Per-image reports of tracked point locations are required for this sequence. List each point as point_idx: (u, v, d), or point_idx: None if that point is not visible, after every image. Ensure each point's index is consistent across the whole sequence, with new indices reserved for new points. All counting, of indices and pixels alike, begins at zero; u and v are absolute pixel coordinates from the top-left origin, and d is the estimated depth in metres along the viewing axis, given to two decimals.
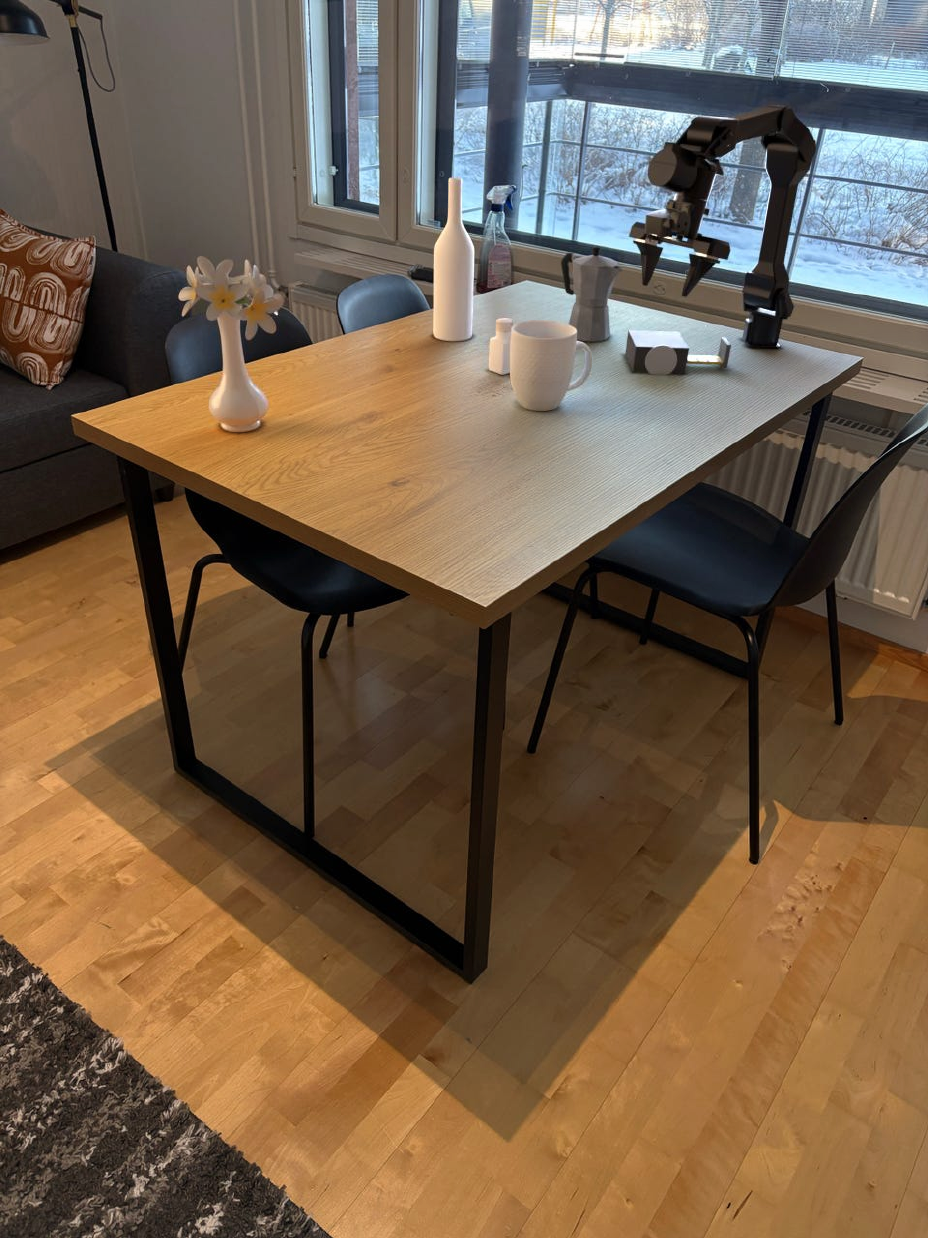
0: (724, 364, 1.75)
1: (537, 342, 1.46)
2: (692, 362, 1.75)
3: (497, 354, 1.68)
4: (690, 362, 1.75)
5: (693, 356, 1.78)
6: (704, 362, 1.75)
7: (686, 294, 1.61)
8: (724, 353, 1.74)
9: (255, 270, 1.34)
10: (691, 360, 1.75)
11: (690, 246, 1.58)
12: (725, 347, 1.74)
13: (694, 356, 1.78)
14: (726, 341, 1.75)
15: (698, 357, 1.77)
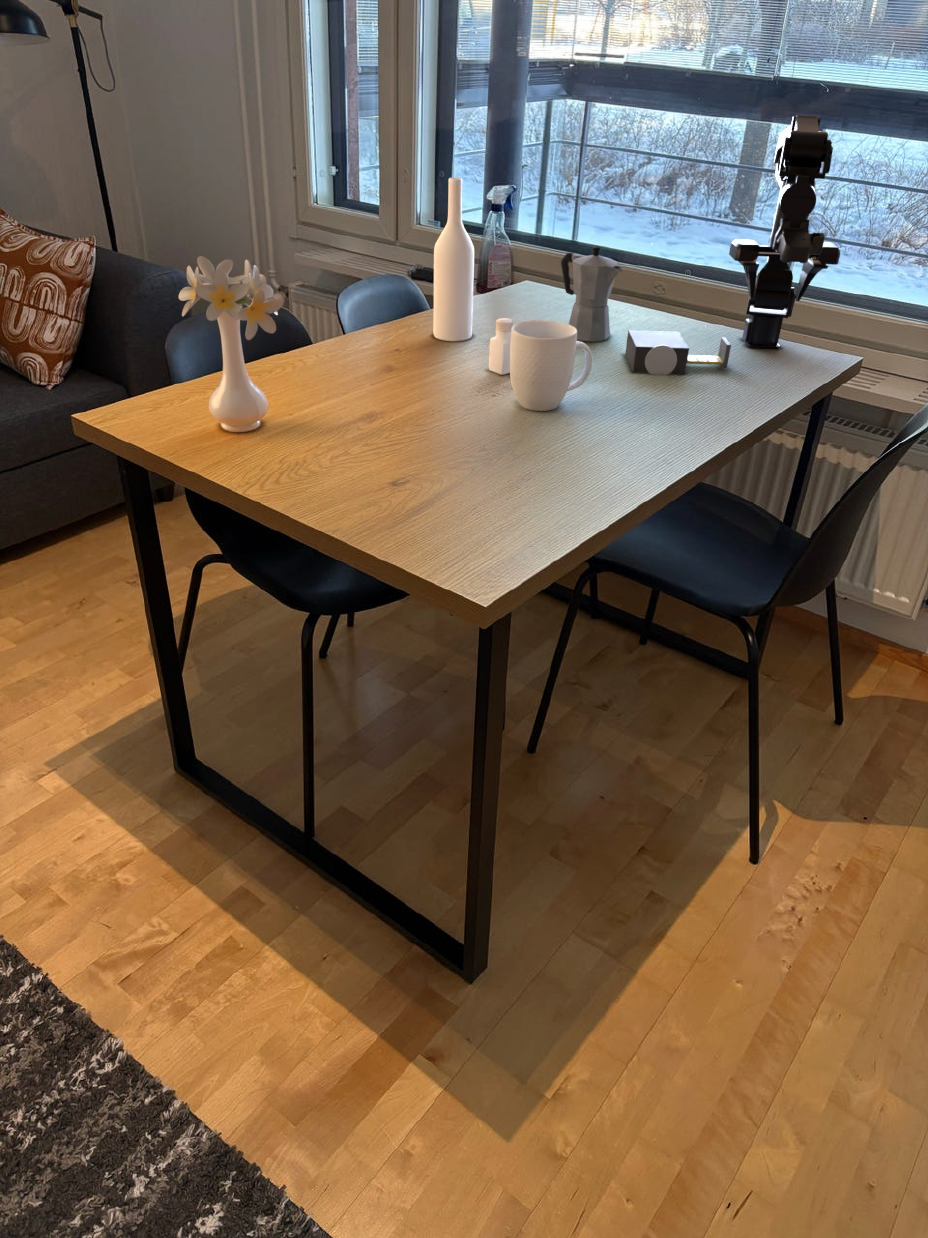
0: (724, 364, 1.75)
1: (537, 342, 1.46)
2: (692, 362, 1.75)
3: (497, 354, 1.68)
4: (690, 362, 1.75)
5: (693, 356, 1.78)
6: (704, 362, 1.75)
7: None
8: (724, 353, 1.74)
9: (255, 270, 1.34)
10: (691, 360, 1.75)
11: None
12: (725, 347, 1.74)
13: (694, 356, 1.78)
14: (726, 341, 1.75)
15: (698, 357, 1.77)
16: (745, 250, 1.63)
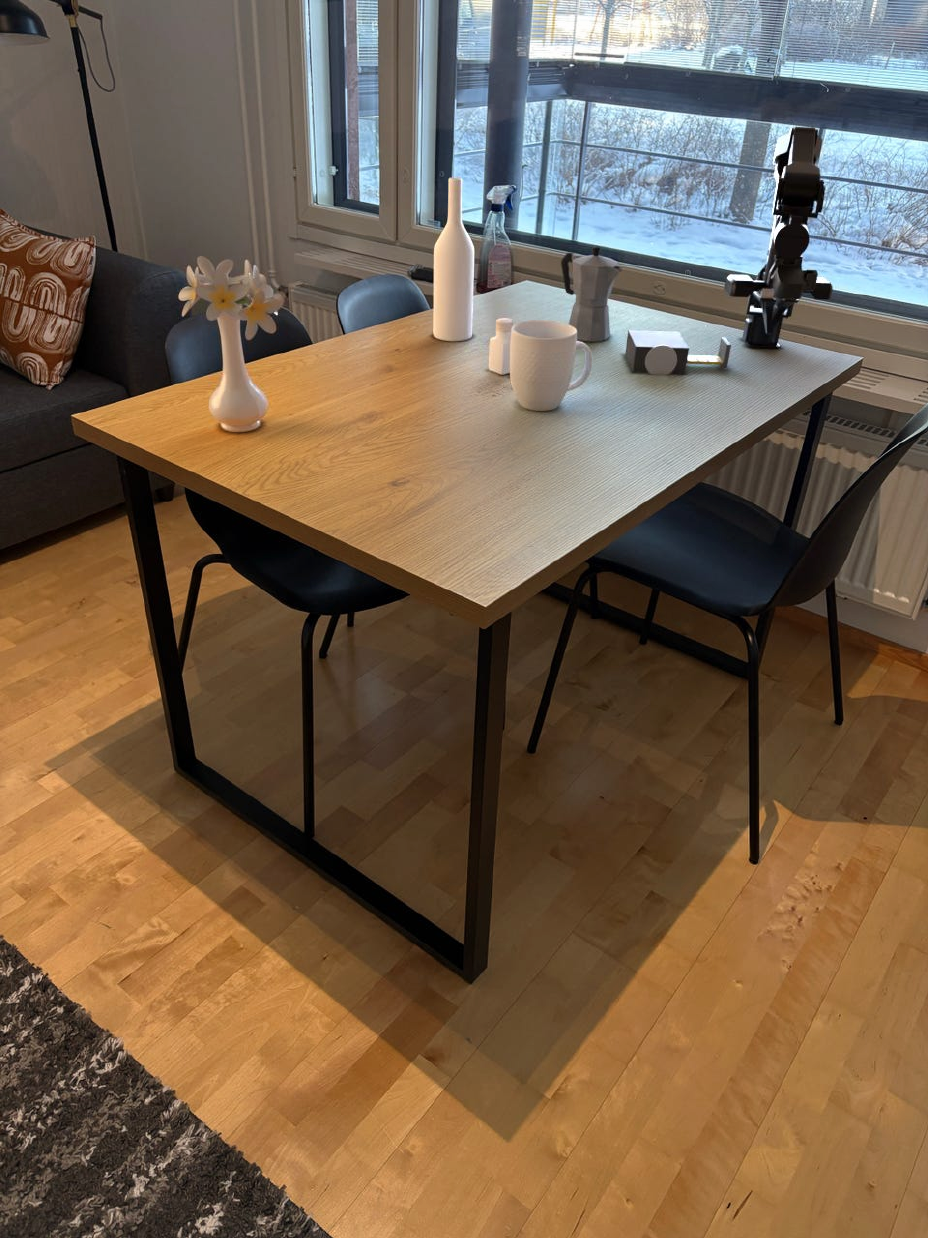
0: (724, 364, 1.75)
1: (537, 342, 1.46)
2: (692, 362, 1.75)
3: (497, 354, 1.68)
4: (690, 362, 1.75)
5: (693, 356, 1.78)
6: (704, 362, 1.75)
7: None
8: (724, 353, 1.74)
9: (255, 270, 1.34)
10: (691, 360, 1.75)
11: None
12: (725, 347, 1.74)
13: (694, 356, 1.78)
14: (726, 341, 1.75)
15: (698, 357, 1.77)
16: (740, 286, 1.66)
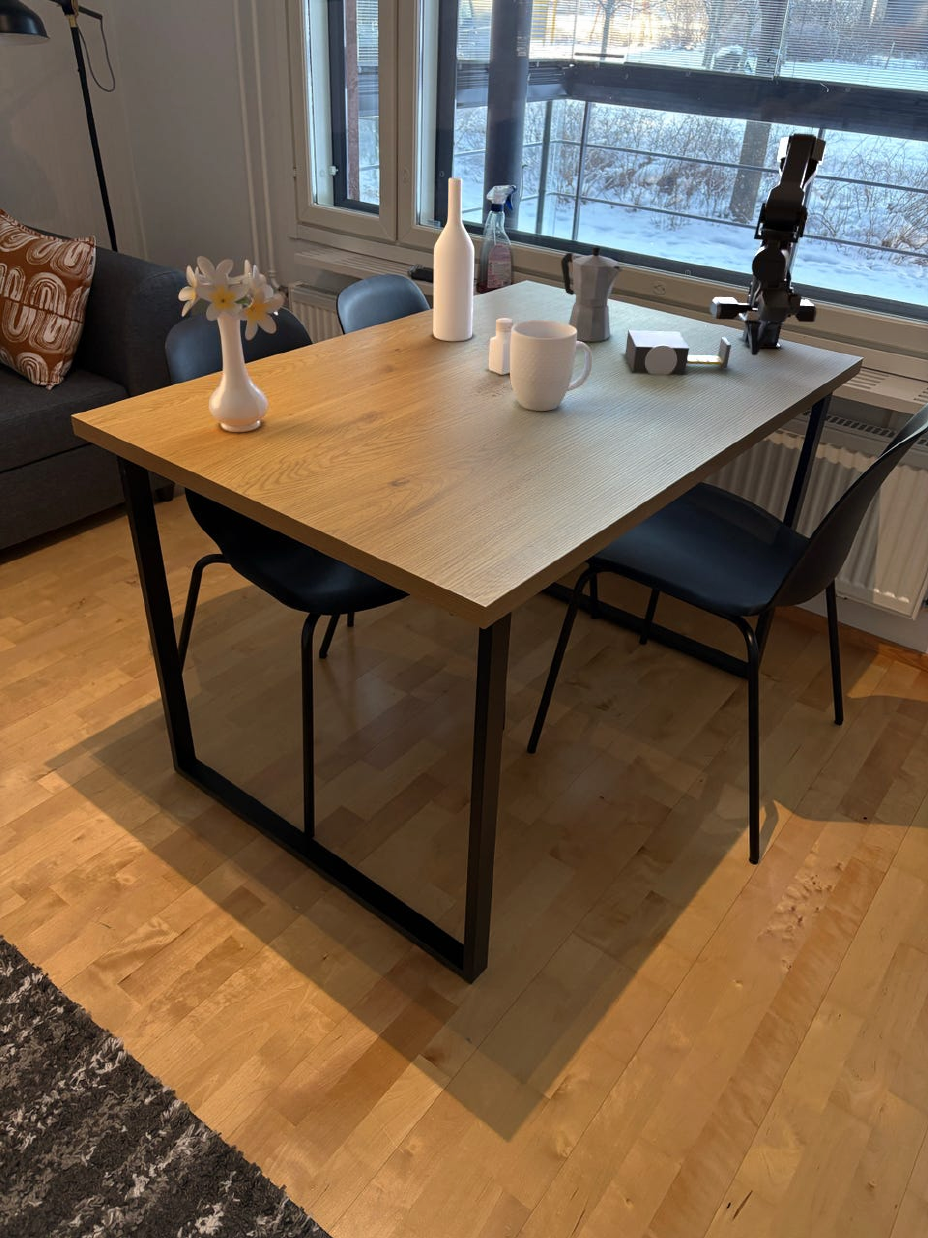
0: (724, 364, 1.75)
1: (537, 342, 1.46)
2: (692, 362, 1.75)
3: (497, 354, 1.68)
4: (690, 362, 1.75)
5: (693, 356, 1.78)
6: (704, 362, 1.75)
7: None
8: (724, 353, 1.74)
9: (255, 270, 1.34)
10: (691, 360, 1.75)
11: None
12: (725, 347, 1.74)
13: (694, 356, 1.78)
14: (726, 341, 1.75)
15: (698, 357, 1.77)
16: (725, 309, 1.69)
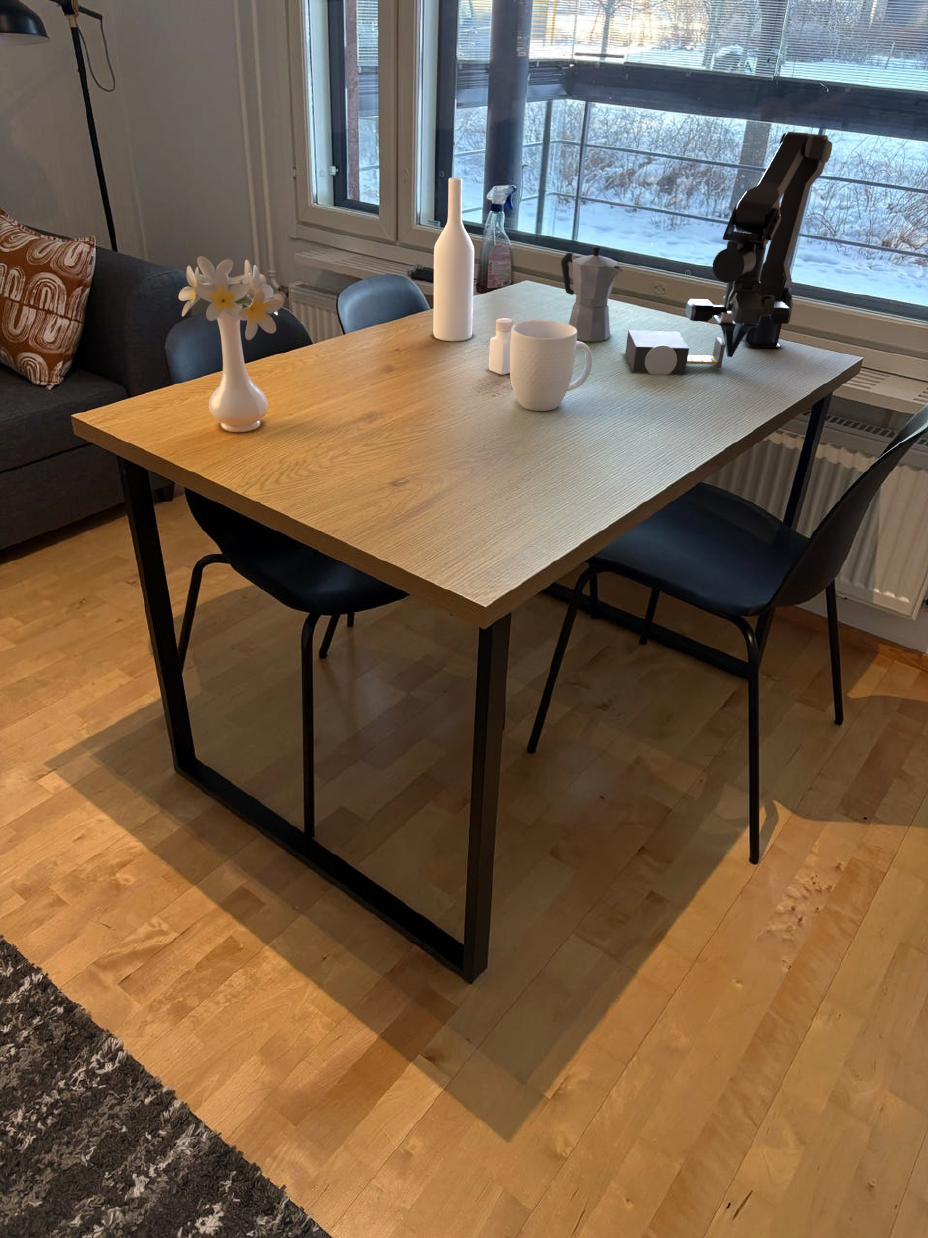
0: (718, 364, 1.75)
1: (537, 342, 1.46)
2: None
3: (497, 354, 1.68)
4: None
5: None
6: (698, 362, 1.75)
7: None
8: (718, 353, 1.74)
9: (255, 270, 1.34)
10: None
11: None
12: (719, 347, 1.74)
13: (688, 356, 1.78)
14: (720, 341, 1.75)
15: (692, 357, 1.77)
16: (700, 311, 1.69)
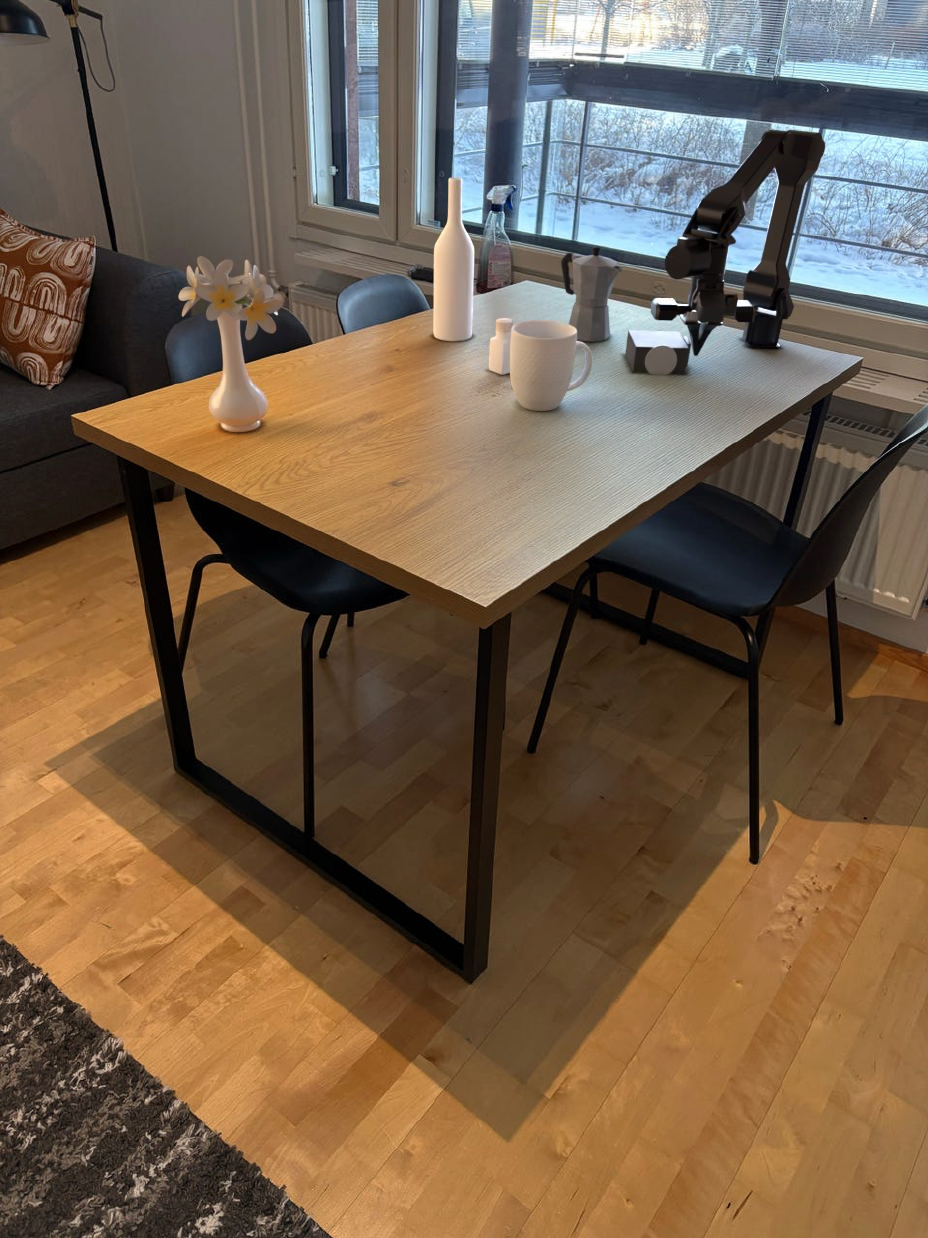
0: None
1: (537, 342, 1.46)
2: None
3: (497, 354, 1.68)
4: None
5: None
6: None
7: None
8: None
9: (255, 270, 1.34)
10: None
11: None
12: None
13: None
14: (687, 340, 1.75)
15: None
16: (664, 310, 1.69)
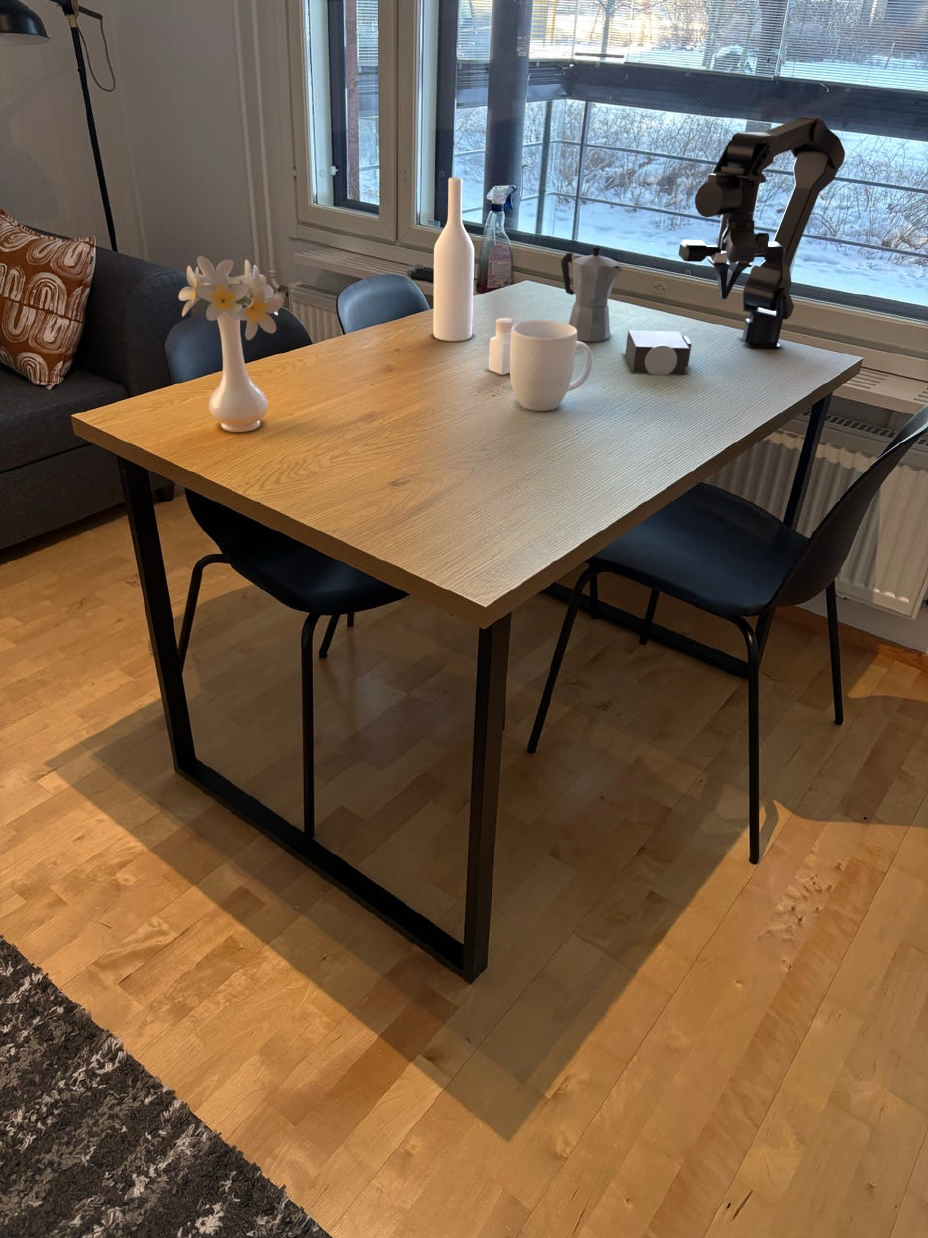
0: None
1: (537, 342, 1.46)
2: None
3: (497, 354, 1.68)
4: None
5: None
6: None
7: None
8: None
9: (255, 270, 1.34)
10: None
11: None
12: None
13: None
14: (687, 340, 1.75)
15: None
16: (693, 250, 1.67)
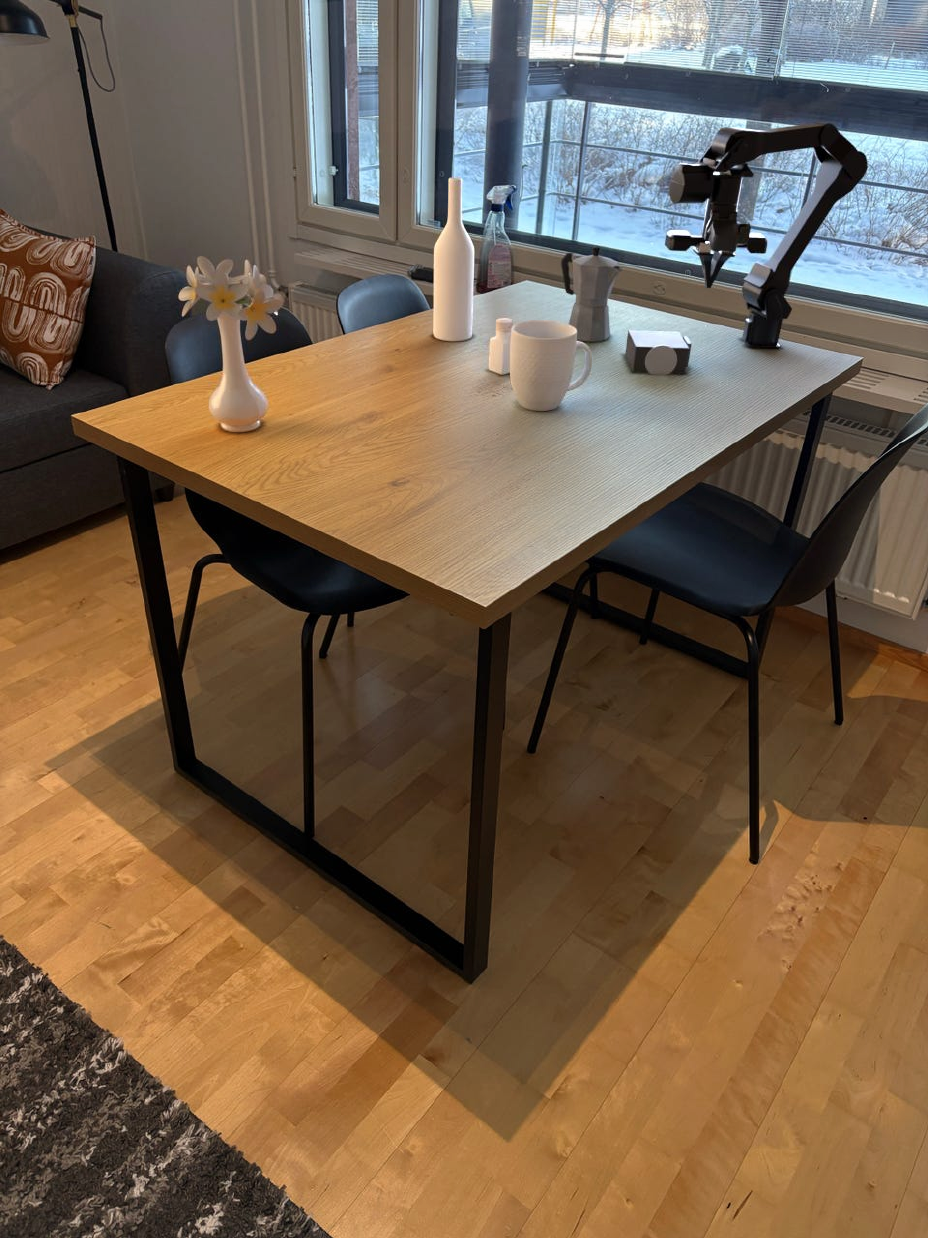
0: None
1: (537, 342, 1.46)
2: None
3: (497, 354, 1.68)
4: None
5: None
6: None
7: None
8: None
9: (255, 270, 1.34)
10: None
11: None
12: None
13: None
14: (687, 340, 1.75)
15: None
16: (678, 240, 1.73)
